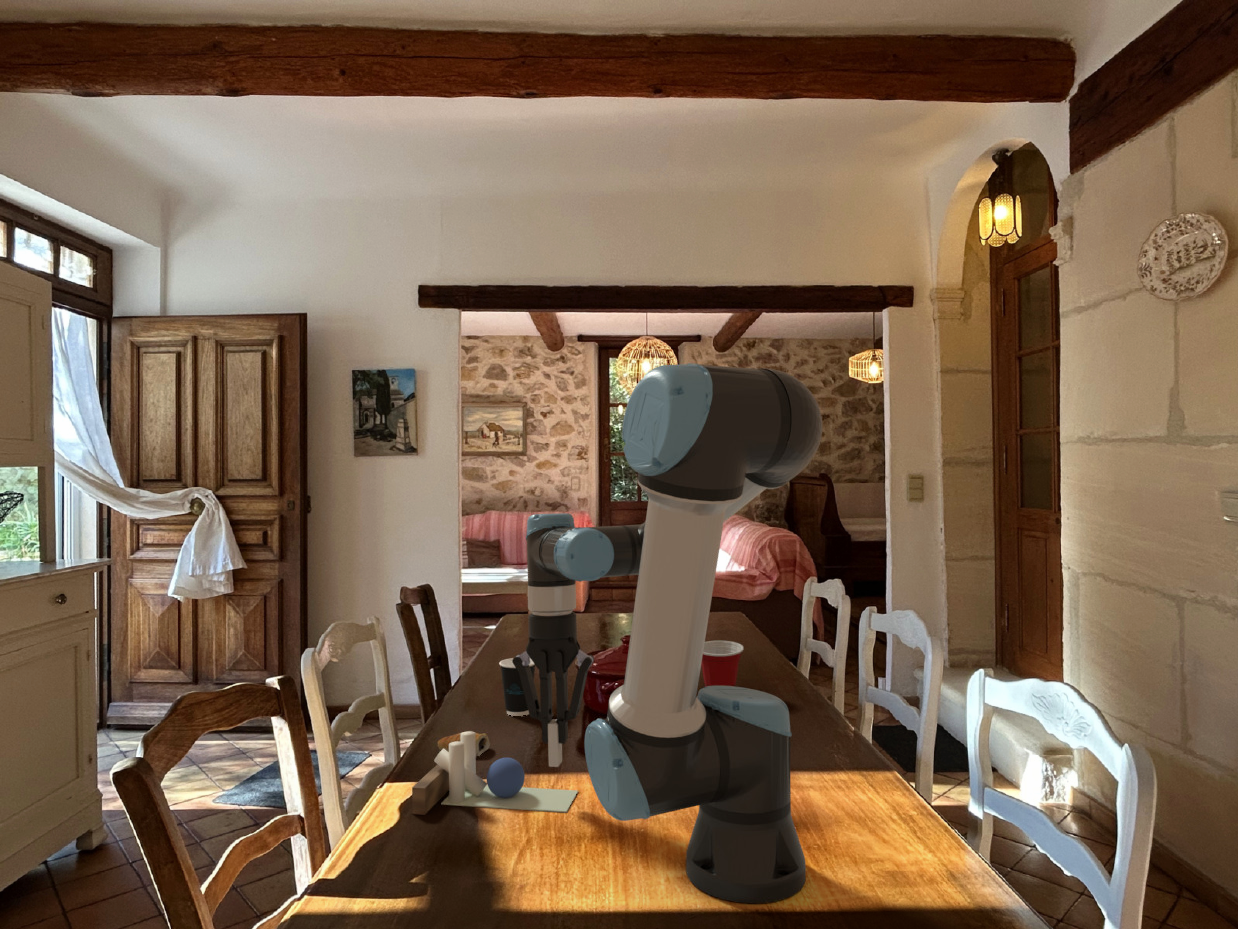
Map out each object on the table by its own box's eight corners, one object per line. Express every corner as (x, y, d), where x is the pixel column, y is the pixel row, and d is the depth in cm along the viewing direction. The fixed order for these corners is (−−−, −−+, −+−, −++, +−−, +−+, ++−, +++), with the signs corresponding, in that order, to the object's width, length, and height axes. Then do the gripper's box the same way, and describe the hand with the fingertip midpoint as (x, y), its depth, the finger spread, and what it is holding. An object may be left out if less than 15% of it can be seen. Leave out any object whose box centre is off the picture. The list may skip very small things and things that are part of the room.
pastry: (430, 756, 149) (430, 735, 149) (448, 744, 155) (448, 724, 155) (476, 761, 146) (476, 739, 146) (493, 749, 152) (493, 728, 152)
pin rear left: (472, 792, 131) (472, 736, 131) (458, 791, 131) (458, 735, 131) (477, 786, 133) (477, 731, 133) (463, 785, 134) (463, 731, 134)
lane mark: (566, 812, 123) (566, 811, 123) (441, 804, 126) (441, 803, 126) (578, 791, 131) (578, 790, 131) (460, 784, 134) (460, 783, 134)
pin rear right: (461, 805, 126) (461, 746, 126) (446, 804, 126) (446, 746, 126) (467, 798, 128) (466, 741, 128) (452, 798, 129) (452, 741, 129)
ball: (476, 769, 127) (486, 807, 127) (511, 761, 126) (521, 799, 125) (490, 757, 133) (500, 793, 132) (523, 748, 132) (533, 785, 131)
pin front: (484, 787, 128) (440, 751, 129) (475, 799, 128) (431, 763, 130) (489, 781, 130) (445, 746, 132) (480, 793, 131) (437, 758, 132)
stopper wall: (424, 815, 122) (424, 788, 123) (412, 814, 123) (412, 787, 123) (462, 775, 138) (462, 751, 138) (451, 774, 139) (451, 751, 139)
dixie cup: (507, 721, 168) (506, 668, 168) (494, 711, 175) (494, 660, 175) (542, 715, 172) (542, 663, 172) (528, 706, 179) (528, 656, 179)
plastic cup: (690, 703, 180) (690, 649, 180) (701, 690, 190) (701, 639, 190) (739, 707, 176) (738, 652, 176) (748, 694, 186) (747, 642, 186)
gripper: (597, 608, 130) (601, 757, 129) (519, 608, 132) (522, 755, 131) (587, 615, 123) (591, 773, 122) (505, 615, 125) (508, 770, 124)
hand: (555, 763), depth 127 cm, fingers closed
